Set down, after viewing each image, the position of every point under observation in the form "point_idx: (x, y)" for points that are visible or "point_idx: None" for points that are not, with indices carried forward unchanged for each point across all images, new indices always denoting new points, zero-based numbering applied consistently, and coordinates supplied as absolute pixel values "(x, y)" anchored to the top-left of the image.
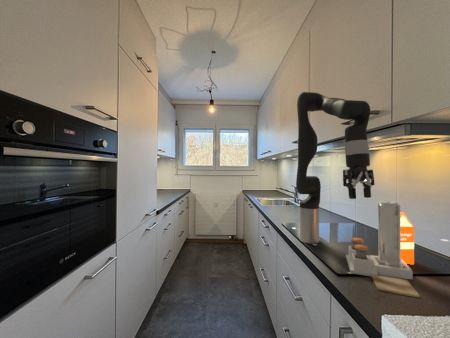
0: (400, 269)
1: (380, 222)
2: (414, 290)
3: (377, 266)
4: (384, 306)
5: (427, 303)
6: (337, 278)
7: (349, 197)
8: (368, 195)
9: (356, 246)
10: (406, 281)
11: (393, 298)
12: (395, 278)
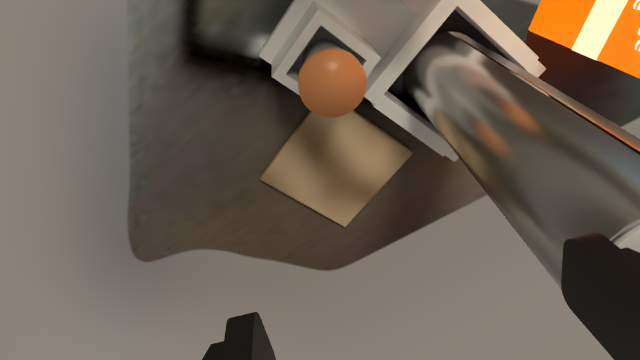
0: (425, 143)
1: (503, 171)
2: (360, 207)
3: (368, 99)
4: (211, 235)
5: (336, 242)
6: (170, 77)
7: (228, 326)
8: (582, 303)
9: (307, 79)
10: (396, 163)
11: (269, 213)
12: (381, 141)
